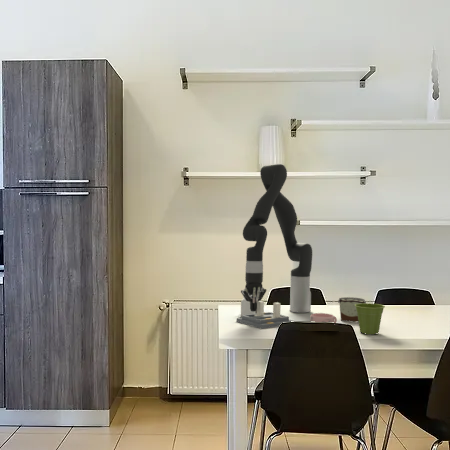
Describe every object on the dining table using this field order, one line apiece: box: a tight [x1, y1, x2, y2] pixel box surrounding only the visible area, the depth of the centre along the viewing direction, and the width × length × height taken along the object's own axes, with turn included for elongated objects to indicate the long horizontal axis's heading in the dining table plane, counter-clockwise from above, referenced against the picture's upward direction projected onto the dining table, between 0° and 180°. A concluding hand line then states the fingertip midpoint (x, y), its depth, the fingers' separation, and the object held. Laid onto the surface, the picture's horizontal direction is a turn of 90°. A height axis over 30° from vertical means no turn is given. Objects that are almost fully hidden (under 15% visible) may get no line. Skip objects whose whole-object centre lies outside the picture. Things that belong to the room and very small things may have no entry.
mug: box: [309, 312, 338, 324], centre depth 234 cm, size 12×10×6 cm
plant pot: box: [355, 302, 386, 335], centre depth 227 cm, size 12×12×11 cm
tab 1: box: [254, 300, 265, 316], centre depth 247 cm, size 4×3×7 cm
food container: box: [337, 296, 367, 322], centre depth 254 cm, size 12×6×10 cm, turn 71°
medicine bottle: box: [240, 294, 257, 316], centre depth 263 cm, size 7×7×12 cm
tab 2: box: [271, 302, 281, 318], centre depth 243 cm, size 4×3×7 cm
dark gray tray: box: [236, 311, 294, 330], centre depth 244 cm, size 18×17×3 cm
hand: (253, 311), depth 245 cm, fingers closed
